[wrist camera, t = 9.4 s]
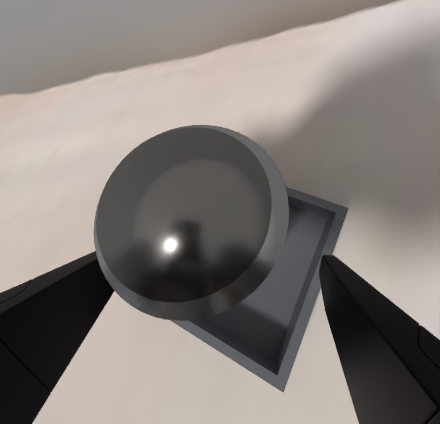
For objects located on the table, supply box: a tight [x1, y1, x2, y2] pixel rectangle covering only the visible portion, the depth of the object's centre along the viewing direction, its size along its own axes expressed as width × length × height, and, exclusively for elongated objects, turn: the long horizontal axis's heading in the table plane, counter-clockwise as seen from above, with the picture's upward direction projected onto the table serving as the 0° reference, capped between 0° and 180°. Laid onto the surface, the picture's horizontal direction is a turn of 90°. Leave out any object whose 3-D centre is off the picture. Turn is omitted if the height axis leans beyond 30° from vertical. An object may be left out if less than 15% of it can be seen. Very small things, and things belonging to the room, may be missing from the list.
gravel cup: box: [94, 125, 289, 321], centre depth 11 cm, size 5×5×13 cm
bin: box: [171, 187, 348, 392], centre depth 16 cm, size 12×12×3 cm
